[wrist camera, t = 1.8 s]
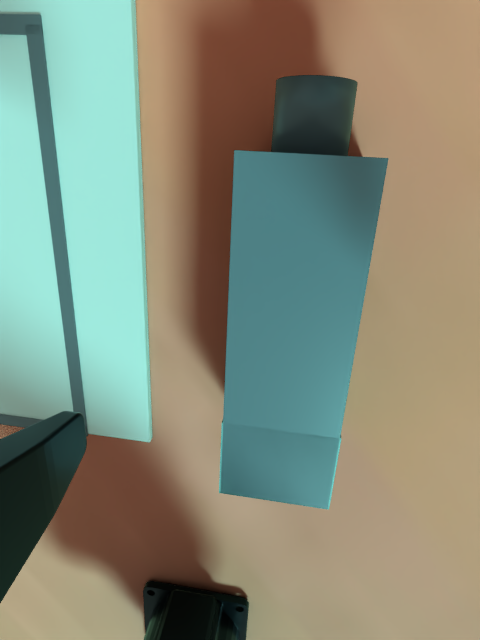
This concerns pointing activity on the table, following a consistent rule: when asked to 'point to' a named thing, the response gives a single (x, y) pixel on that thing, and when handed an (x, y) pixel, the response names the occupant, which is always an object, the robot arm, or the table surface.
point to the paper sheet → (72, 218)
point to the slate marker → (296, 294)
